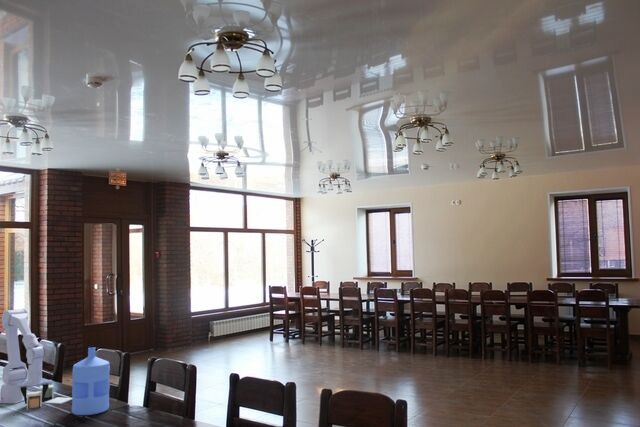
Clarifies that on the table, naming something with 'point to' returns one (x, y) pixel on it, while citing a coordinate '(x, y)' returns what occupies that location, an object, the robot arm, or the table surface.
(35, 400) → the terracotta cube
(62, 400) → the blue-grey mat
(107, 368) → the water jug
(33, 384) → the robot arm
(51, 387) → the sage green cube
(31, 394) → the tan framed cube
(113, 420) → the table surface
